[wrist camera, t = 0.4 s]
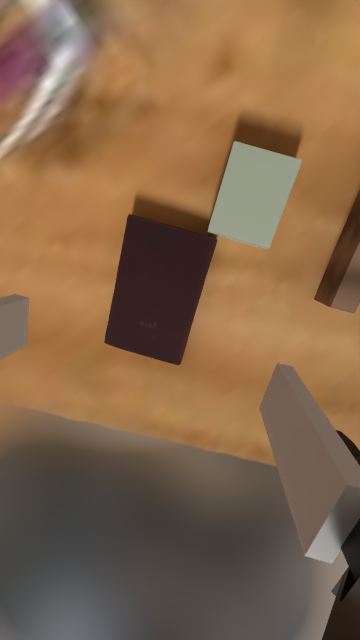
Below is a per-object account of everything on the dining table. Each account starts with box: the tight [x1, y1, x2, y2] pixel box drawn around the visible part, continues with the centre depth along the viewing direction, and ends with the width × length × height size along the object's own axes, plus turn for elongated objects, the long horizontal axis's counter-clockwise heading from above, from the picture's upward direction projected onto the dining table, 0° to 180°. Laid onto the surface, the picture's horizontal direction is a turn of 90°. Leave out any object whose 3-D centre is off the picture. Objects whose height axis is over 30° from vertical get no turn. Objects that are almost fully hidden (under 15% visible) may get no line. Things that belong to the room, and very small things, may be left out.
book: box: [105, 214, 217, 365], centre depth 37 cm, size 12×19×3 cm, turn 165°
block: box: [208, 141, 302, 249], centre depth 32 cm, size 10×8×4 cm
